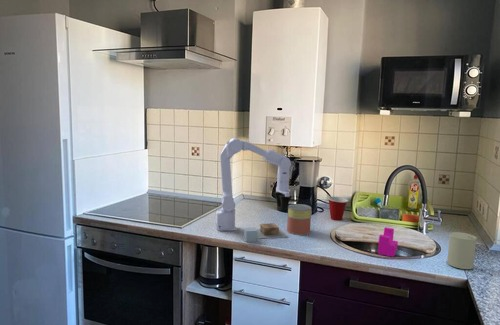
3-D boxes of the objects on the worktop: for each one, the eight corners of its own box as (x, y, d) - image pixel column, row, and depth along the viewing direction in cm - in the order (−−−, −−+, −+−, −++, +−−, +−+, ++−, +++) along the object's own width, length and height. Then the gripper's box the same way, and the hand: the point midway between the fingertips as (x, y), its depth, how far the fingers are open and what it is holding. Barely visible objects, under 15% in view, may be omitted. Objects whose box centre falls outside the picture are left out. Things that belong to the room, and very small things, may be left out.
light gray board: (258, 238, 169) (258, 238, 169) (251, 229, 183) (251, 229, 183) (288, 237, 173) (288, 236, 173) (278, 228, 186) (278, 227, 186)
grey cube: (246, 242, 164) (246, 231, 164) (243, 238, 169) (244, 227, 169) (257, 241, 166) (257, 230, 165) (254, 238, 170) (254, 227, 170)
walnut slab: (264, 235, 174) (264, 228, 173) (260, 230, 180) (260, 223, 180) (278, 234, 175) (278, 227, 175) (274, 230, 182) (274, 223, 181)
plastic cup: (345, 223, 197) (346, 201, 196) (324, 221, 201) (326, 199, 200) (348, 218, 207) (349, 197, 206) (328, 216, 211) (329, 195, 210)
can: (466, 271, 140) (470, 240, 138) (442, 263, 147) (445, 233, 146) (478, 266, 145) (481, 235, 144) (453, 258, 153) (456, 229, 151)
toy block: (393, 256, 153) (395, 239, 152) (377, 253, 156) (379, 236, 155) (398, 246, 166) (400, 229, 165) (383, 243, 169) (385, 227, 168)
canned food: (314, 230, 184) (315, 206, 182) (303, 236, 174) (305, 211, 173) (293, 226, 190) (294, 202, 188) (282, 231, 181) (283, 207, 179)
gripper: (296, 183, 178) (294, 211, 180) (285, 178, 192) (284, 204, 194) (281, 183, 177) (280, 211, 178) (272, 178, 191) (271, 204, 192)
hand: (281, 208), depth 186 cm, fingers open, 6 cm apart
